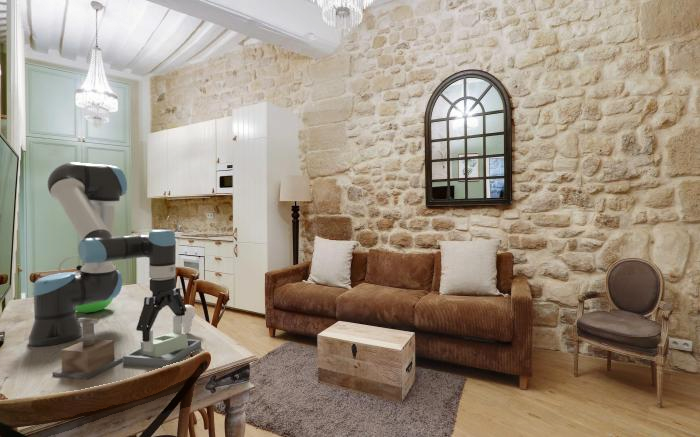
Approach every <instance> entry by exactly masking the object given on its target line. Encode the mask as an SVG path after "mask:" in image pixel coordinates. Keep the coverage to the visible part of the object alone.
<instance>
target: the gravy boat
mask: <svg viewBox="0 0 700 437" xmlns="http://www.w3.org/2000/svg"><path fill="white" fill-rule="evenodd" d="M113 299H114V298H113ZM113 299H109V300H106V301H100V302H95V303H89V304H84V305H79V306H76V312H80V313H84V314H85V313H96V312H99V311H102V310H104V309H106V308H107V307H108V306H109V305H110V304H111V303H112V301H113Z"/></svg>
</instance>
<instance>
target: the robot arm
mask: <svg viewBox="0 0 700 437" xmlns="http://www.w3.org/2000/svg"><path fill="white" fill-rule="evenodd" d="M127 182H128V181H127V177H126V174H125V173H124V171H123V169H121V168H119V167H118V166H115V165H109V164H96V163H83V162H67V163H64V164H61V165H60V166H59V165H58V167H56V168H54V170H53V171H51V173H50V175H49V177H48V180H47V190H48V191H49V194H50V196H51V197H52V198H53V199H54V200H56V201H58V202H59V204H60V205H61V207H62V209H63V210H64V212H65V215H66V216H67V218H68V220H69V221H70V223H71V225H72V226H73V228H74V230H75V232H76V233H77V235H78V236H79V238H80V241H79V243H78V245H77V253H78V255H79V257H78V258H79V259H80V261H81V262H82V263H83V264H84V263H85V264H84V265H83V266H82V268H81V270H80V275H75V274H74V273H73V272H74V271H72V272H71V271H65V272H61V273H59V272H58V273H52V274H48V275H45V276H42V277H40V278H38V279H36V280H35V281H34V282H33V292H32V295H33V308H34V309H33V310H34V313H33V314H34V322H33V324H32V328H31V331H30V334H29V335H28V345H30V346H33V347H47V346H53V345H59V344H63V343H68V342H70V341H73V340H76V339H78V338H79V337H81V336H83V334H82V324H81V323H78V317H77V311H76V306H79V305H84V304H89V303H95V302H100V301H106V300H109V299H115V298H116V297H117V296H118V295H119V294H120V292H121V291H122V287H123V278H122V277H123V276H122V273H121V271H119V270H118V269H117V266H116V265H114V264H113V262H115V261H121V260H130V259H139V258H141V259H142V258H148V259H149V261H148V265H149V266H148V268H149V269H148V270H149V272H148V273H149V278H150V279H149V291H150V292H151V293H152V295H151V296H145V297H144V300H143V307H142V310H141V312H140V316H139V319H138V322H137V326H136V328H135V329H136V331H137V332H138V331H139V332H142V333H141V334H142V341H143V342H144V351H149V352H152V351H153V338H154V330H153V329H152V328H153V325H154V323H155V321H156V319H157V316H158V314H159V312H160V311H161V310H162V309H163V308H165V307H166V306H167V307H168V308H169V309H170V310H171V312H172V314H173V316H172V333H179V334H183V333H182V330H183V329H182V328H183V327H182V315H185V312H186V307H185V305H186V304H185V302H184V299H183V297H182V295H181V288H180V287H177V278H176V277H175V276H176V273H177V270H176V261H177V260H176V259H177V257H176V249H177V248H176V247H177V246H176V244H177V241H176V233H175V232H176V231H174V230H172V229H153V230H150V231H149V233H148V234H147V233H138V234H137V233H136V234H132V235H120V236H119V235H118V236H117V235H116V236H114V232H115V231H114V230H115V229H114V228H115V206H116V204H118V203H119V202H120V198H121V197H122V196H124V195H126V194H127V193H126V192H127V190H128V183H127Z"/></svg>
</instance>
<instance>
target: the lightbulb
mask: <svg viewBox="0 0 700 437" xmlns="http://www.w3.org/2000/svg"><path fill="white" fill-rule="evenodd" d="M185 307H186V312H185V315H182V328H183V329H182V330H183V334H187V335H188V334H189V333H191V330H192V323H193V320H194V318H195V317H196V309H195V307H194V306H193V305H191V304H185Z"/></svg>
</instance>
